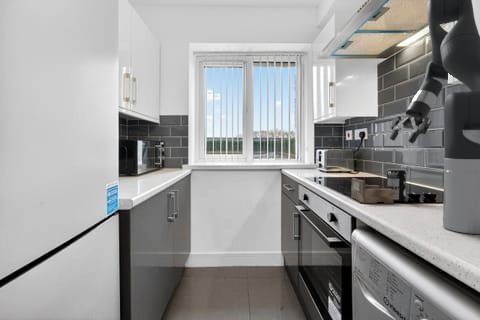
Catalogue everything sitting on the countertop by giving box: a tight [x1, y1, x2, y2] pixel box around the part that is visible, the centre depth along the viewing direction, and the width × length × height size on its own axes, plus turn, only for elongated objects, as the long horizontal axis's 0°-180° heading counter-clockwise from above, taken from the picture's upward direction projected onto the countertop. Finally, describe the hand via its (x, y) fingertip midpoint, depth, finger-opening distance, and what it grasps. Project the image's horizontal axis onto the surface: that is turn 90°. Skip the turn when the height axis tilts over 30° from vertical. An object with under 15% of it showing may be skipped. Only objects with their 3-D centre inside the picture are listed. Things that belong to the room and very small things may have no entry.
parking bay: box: [350, 177, 394, 204], centre depth 116 cm, size 11×12×8 cm
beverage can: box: [386, 168, 407, 202], centre depth 116 cm, size 7×7×12 cm
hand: (400, 140), depth 118 cm, fingers open, 8 cm apart
